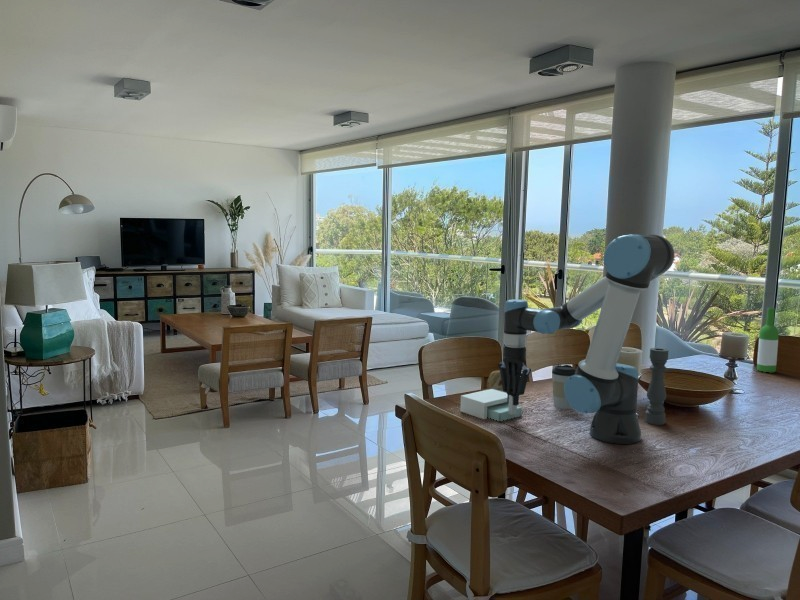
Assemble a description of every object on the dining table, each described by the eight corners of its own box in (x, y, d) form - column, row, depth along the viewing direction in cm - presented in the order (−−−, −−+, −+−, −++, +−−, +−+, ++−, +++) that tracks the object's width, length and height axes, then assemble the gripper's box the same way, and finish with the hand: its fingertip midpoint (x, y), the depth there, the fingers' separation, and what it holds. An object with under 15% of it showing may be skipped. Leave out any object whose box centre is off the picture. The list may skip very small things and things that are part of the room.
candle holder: (642, 422, 203) (646, 349, 200) (649, 418, 207) (653, 347, 205) (660, 426, 199) (665, 352, 196) (667, 421, 203) (672, 349, 200)
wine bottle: (778, 373, 277) (784, 309, 274) (760, 372, 278) (765, 308, 275) (771, 369, 284) (776, 307, 281) (753, 369, 286) (758, 306, 282)
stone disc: (503, 392, 239) (504, 367, 238) (510, 394, 236) (511, 369, 235) (484, 395, 233) (485, 370, 232) (491, 398, 230) (492, 372, 229)
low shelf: (515, 411, 214) (515, 395, 213) (483, 419, 204) (484, 403, 203) (491, 403, 223) (491, 388, 222) (460, 411, 213) (460, 395, 212)
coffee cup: (570, 411, 214) (572, 370, 212) (546, 406, 219) (548, 366, 218) (579, 405, 221) (581, 366, 219) (556, 401, 227) (558, 362, 225)
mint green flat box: (521, 415, 208) (521, 407, 208) (499, 421, 201) (499, 413, 201) (499, 409, 216) (500, 400, 216) (478, 414, 209) (478, 406, 209)
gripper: (537, 347, 199) (534, 416, 201) (507, 341, 209) (505, 407, 211) (522, 349, 194) (520, 420, 197) (492, 343, 204) (490, 410, 207)
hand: (512, 413), depth 204 cm, fingers closed
